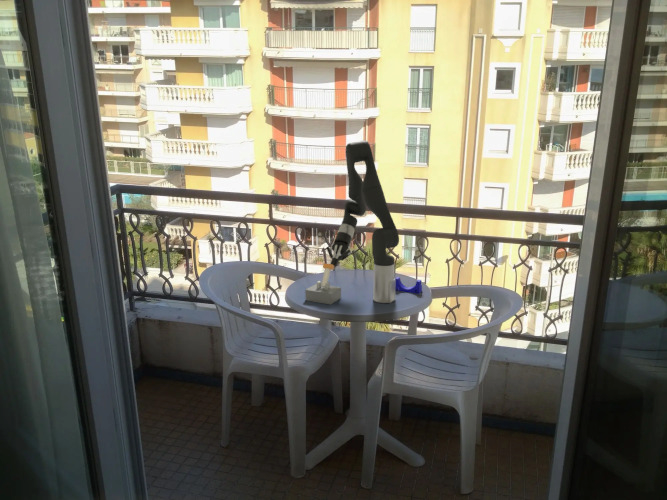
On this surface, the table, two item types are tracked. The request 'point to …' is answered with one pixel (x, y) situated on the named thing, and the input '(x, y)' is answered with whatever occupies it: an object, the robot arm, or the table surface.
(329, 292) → the block
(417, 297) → the table surface
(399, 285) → the cable clip
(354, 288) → the table surface
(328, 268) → the lever
